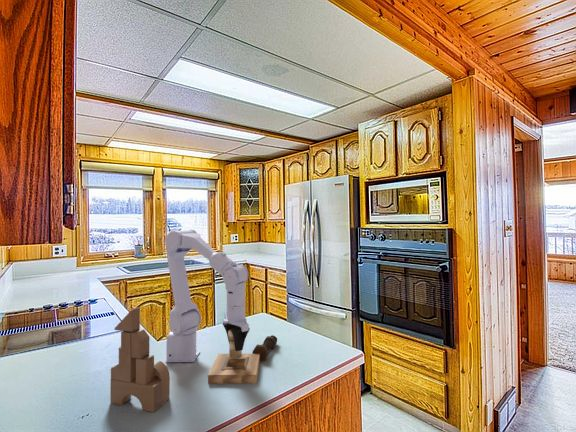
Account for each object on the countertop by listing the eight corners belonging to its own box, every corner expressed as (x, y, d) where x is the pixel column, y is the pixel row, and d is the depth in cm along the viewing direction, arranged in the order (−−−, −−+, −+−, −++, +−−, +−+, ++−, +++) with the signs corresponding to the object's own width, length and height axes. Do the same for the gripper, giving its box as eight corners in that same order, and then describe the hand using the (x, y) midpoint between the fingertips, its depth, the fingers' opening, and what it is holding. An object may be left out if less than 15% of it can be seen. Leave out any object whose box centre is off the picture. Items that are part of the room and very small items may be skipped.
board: (208, 383, 91) (208, 374, 91) (218, 361, 105) (218, 353, 105) (255, 383, 91) (255, 374, 91) (259, 361, 105) (259, 353, 105)
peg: (232, 360, 94) (232, 333, 95) (225, 356, 98) (225, 330, 98) (245, 356, 97) (245, 330, 97) (238, 352, 101) (238, 327, 101)
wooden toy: (171, 397, 84) (171, 305, 84) (153, 412, 77) (154, 312, 77) (124, 388, 88) (125, 300, 88) (104, 402, 82) (105, 307, 82)
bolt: (275, 349, 119) (261, 365, 105) (264, 341, 120) (249, 356, 106) (282, 336, 118) (269, 351, 104) (272, 328, 120) (257, 342, 105)
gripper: (215, 300, 102) (215, 342, 102) (233, 312, 90) (233, 359, 90) (235, 297, 106) (235, 337, 106) (254, 308, 93) (254, 353, 93)
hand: (235, 347), depth 98 cm, fingers closed on peg, 4 cm apart
